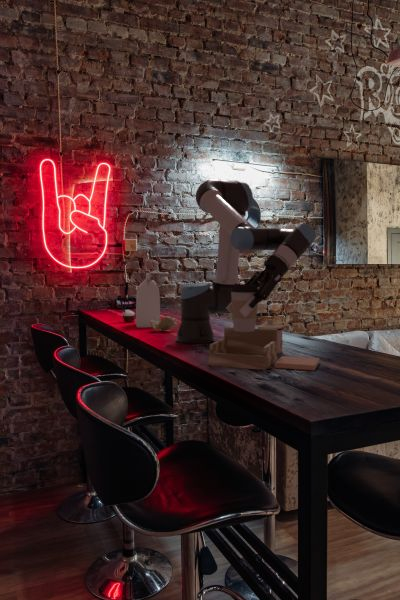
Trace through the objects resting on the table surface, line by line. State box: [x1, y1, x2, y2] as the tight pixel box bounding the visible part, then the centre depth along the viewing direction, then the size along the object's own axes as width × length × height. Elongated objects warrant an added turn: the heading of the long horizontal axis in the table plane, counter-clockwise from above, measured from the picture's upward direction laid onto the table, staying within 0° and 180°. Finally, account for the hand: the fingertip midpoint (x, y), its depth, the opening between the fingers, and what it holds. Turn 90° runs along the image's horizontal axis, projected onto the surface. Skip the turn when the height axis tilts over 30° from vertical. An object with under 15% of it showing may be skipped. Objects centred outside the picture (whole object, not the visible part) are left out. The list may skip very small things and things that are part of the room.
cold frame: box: [208, 326, 278, 371], centre depth 172 cm, size 18×18×10 cm
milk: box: [135, 272, 162, 328], centre depth 266 cm, size 12×12×26 cm
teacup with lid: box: [257, 318, 284, 354], centre depth 194 cm, size 12×9×12 cm
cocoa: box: [119, 299, 136, 323], centre depth 282 cm, size 10×6×12 cm, turn 103°
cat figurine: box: [150, 315, 179, 333], centre depth 246 cm, size 8×7×12 cm
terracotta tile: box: [274, 355, 320, 371], centre depth 168 cm, size 12×12×2 cm
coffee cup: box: [231, 283, 259, 332], centre depth 171 cm, size 9×9×15 cm
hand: (235, 312), depth 170 cm, fingers closed on coffee cup, 9 cm apart
